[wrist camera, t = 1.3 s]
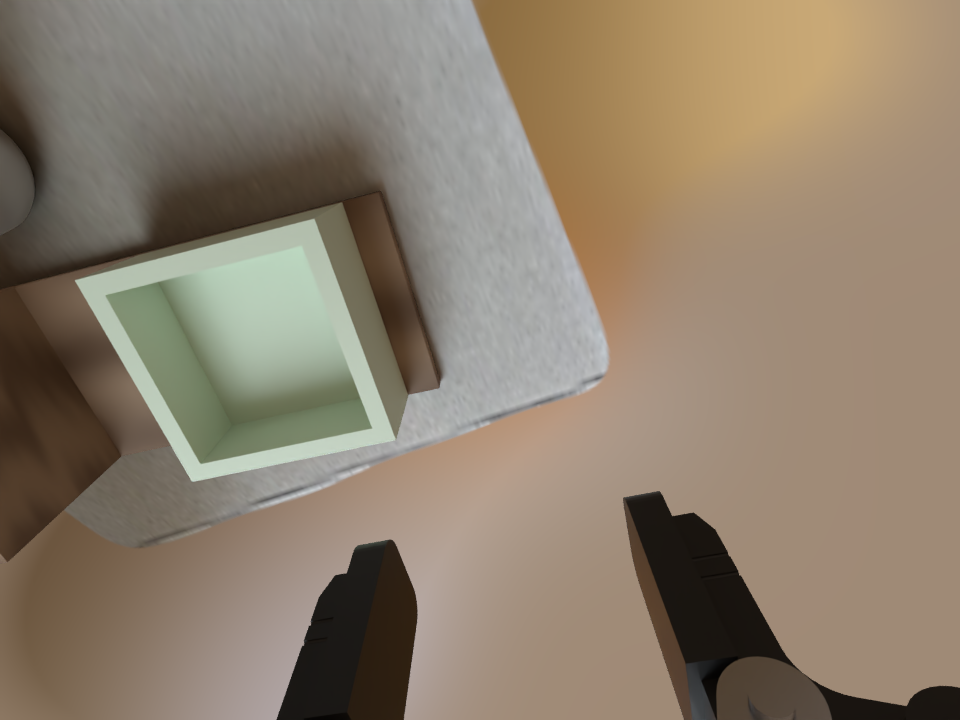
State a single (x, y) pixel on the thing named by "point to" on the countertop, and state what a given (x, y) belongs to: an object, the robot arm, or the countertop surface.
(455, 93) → the countertop surface
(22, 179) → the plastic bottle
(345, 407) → the socket block
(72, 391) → the backstop
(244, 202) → the countertop surface
